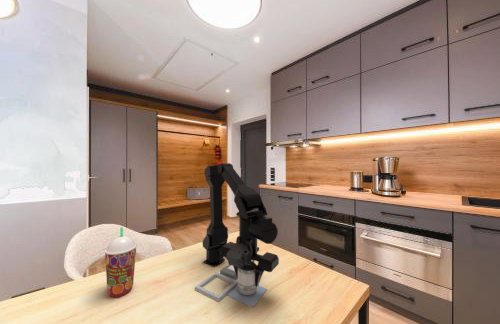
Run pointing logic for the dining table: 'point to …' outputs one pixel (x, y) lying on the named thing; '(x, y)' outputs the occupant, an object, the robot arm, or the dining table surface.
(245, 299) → the mat
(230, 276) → the grey frame with handle
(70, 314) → the dining table surface
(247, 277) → the camera lens
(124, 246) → the smoothie
